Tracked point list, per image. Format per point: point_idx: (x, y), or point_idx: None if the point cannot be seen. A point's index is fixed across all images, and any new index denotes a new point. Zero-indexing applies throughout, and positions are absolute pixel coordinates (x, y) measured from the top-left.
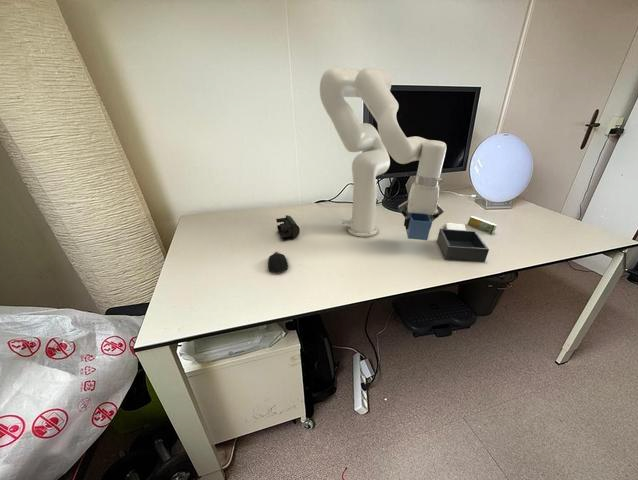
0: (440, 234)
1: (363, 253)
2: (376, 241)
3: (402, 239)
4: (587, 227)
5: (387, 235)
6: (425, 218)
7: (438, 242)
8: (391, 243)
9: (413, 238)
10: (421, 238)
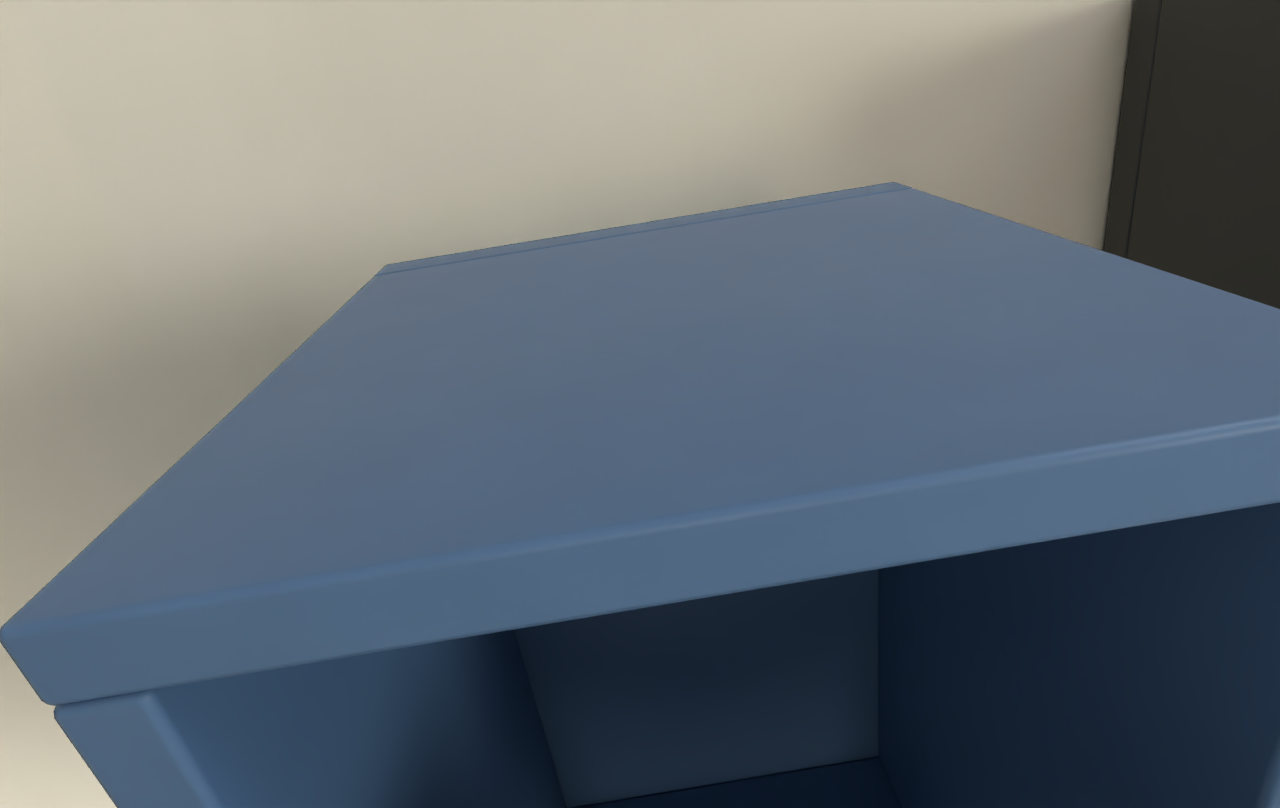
0: (1277, 151)
1: (60, 736)
2: (42, 385)
3: (453, 160)
4: None
5: (114, 56)
6: (1064, 598)
7: (1130, 135)
8: None
9: (646, 797)
10: (791, 783)
